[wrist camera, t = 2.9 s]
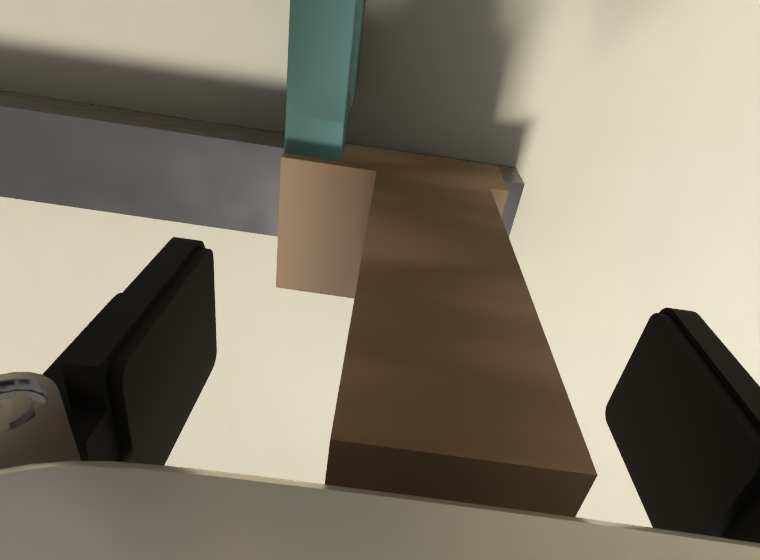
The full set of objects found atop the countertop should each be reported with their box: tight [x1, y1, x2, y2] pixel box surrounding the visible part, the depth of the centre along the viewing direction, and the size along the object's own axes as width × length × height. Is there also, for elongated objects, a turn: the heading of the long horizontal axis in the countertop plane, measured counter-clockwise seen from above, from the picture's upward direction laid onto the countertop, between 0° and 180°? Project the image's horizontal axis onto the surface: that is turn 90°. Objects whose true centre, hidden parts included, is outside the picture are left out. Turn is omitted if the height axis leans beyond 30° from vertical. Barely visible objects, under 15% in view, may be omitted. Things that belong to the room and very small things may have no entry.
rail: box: [0, 91, 524, 237], centre depth 17 cm, size 22×3×2 cm, turn 82°
